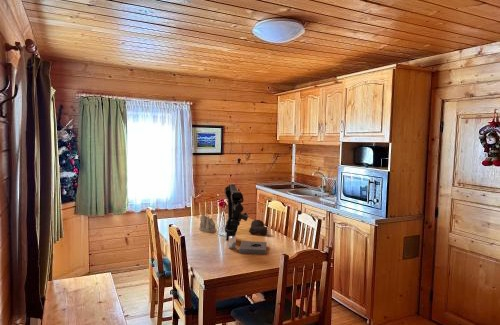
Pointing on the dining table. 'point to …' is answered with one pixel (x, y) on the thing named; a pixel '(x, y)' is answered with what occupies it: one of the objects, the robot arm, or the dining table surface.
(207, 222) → the ceramic cottage
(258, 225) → the dark knit hat
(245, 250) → the duct plate
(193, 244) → the dining table surface
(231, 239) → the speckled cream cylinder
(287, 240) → the dining table surface
